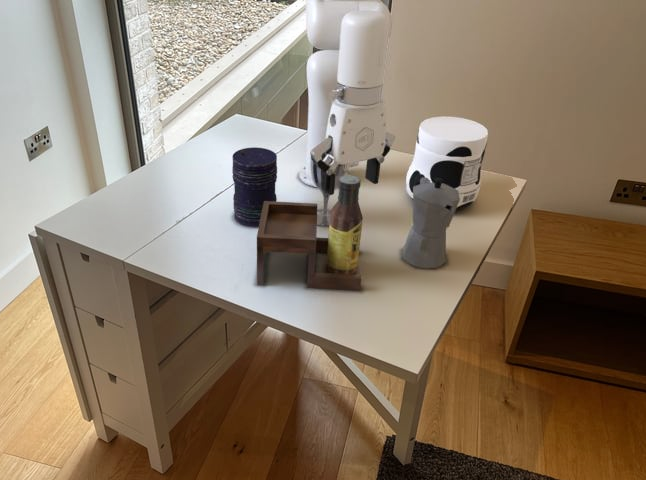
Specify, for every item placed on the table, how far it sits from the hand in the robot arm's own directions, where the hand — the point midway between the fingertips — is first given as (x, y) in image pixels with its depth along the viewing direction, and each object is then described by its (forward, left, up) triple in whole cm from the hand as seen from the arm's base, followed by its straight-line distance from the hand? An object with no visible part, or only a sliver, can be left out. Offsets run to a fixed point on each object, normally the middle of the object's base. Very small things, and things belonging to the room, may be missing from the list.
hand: (349, 186), depth 108 cm
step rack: (+5, -4, -19) cm, 20 cm away
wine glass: (-8, -19, -19) cm, 28 cm away
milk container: (-38, -14, -19) cm, 45 cm away
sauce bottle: (0, 0, -19) cm, 19 cm away
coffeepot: (-18, +3, -19) cm, 27 cm away
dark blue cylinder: (+6, -27, -19) cm, 34 cm away
